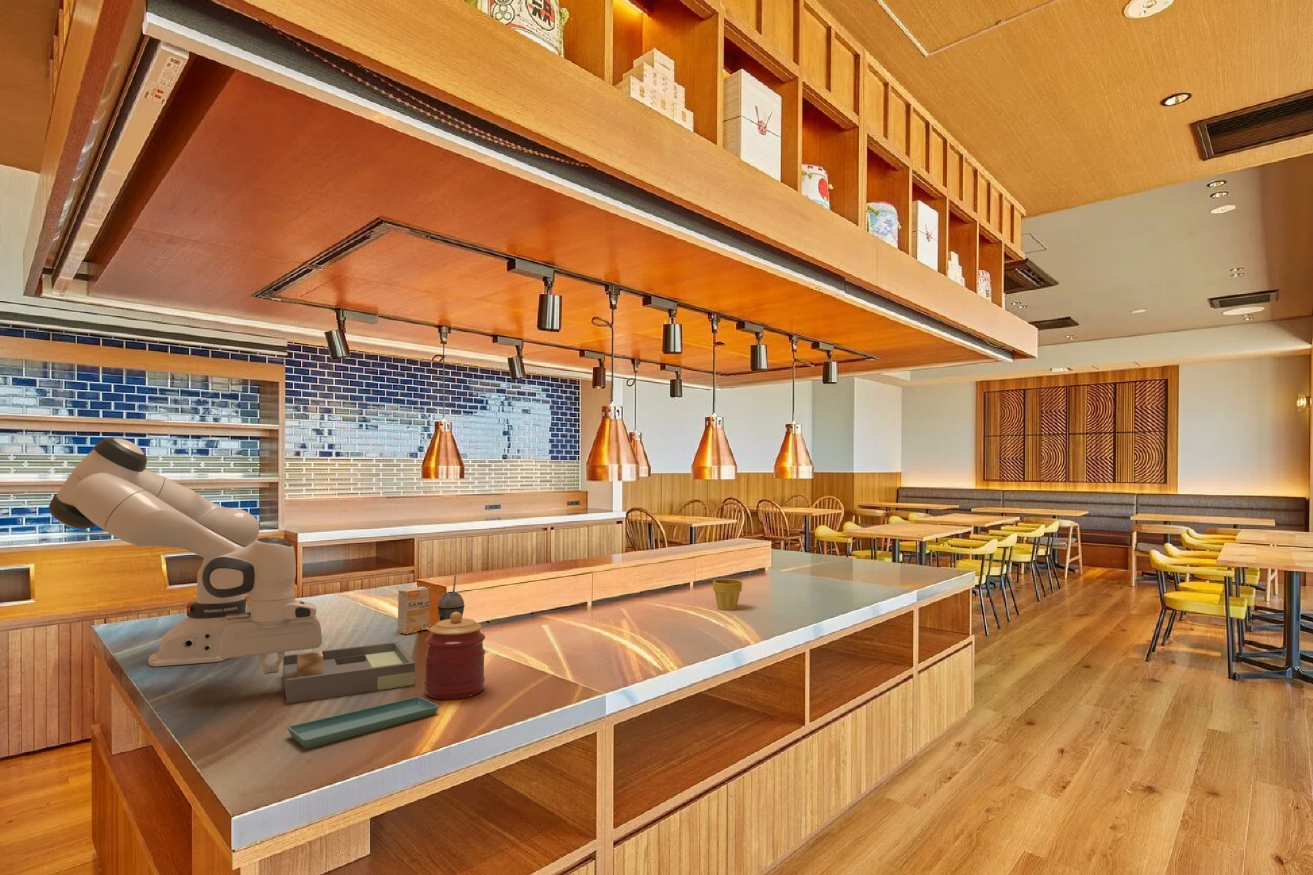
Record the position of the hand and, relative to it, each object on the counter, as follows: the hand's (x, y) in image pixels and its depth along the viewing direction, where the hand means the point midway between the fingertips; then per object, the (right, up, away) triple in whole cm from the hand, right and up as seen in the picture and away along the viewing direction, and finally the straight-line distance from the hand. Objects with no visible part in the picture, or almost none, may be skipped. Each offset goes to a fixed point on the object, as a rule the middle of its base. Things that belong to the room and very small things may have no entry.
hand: (271, 672), depth 154 cm
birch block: (+7, -1, +4) cm, 8 cm away
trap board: (+14, -5, +8) cm, 16 cm away
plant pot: (+112, -9, +92) cm, 145 cm away
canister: (+41, -5, +1) cm, 41 cm away
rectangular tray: (+30, -4, -20) cm, 36 cm away
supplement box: (+12, -7, +56) cm, 57 cm away
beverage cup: (+29, -6, +37) cm, 47 cm away
